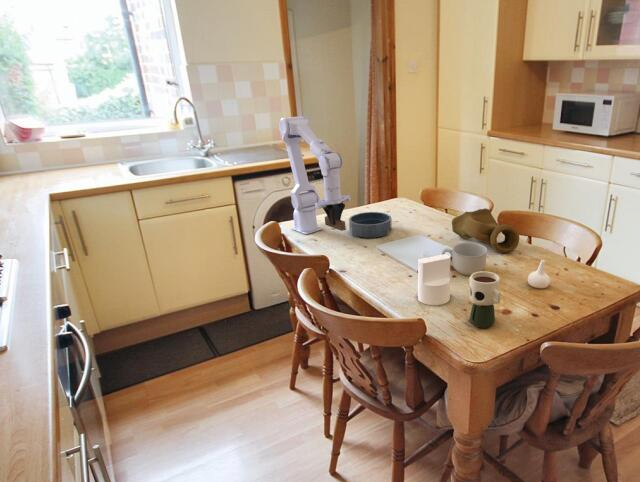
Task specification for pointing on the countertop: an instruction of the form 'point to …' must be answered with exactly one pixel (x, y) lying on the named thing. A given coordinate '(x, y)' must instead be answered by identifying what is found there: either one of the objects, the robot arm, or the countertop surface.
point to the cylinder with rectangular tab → (434, 280)
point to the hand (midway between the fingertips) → (334, 223)
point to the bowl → (370, 224)
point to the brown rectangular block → (336, 224)
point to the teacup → (467, 257)
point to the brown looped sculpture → (485, 230)
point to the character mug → (484, 297)
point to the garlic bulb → (539, 277)
